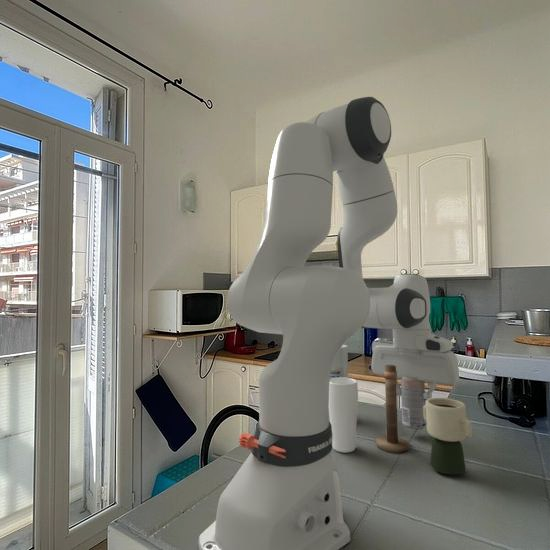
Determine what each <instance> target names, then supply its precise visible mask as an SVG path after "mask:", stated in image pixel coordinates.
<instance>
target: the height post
mask: <svg viewBox="0 0 550 550" xmlns="http://www.w3.org/2000/svg"><path fill="white" fill-rule="evenodd" d="M383 377H384V384H385V386H384V387H385V388H384V389H385V420H386V421H385V422H386V423H385V424H386V425H385V426H386V435H380V436H378V437H376V439H375V440H376V441H375V442H376V446H377V448H378V449H379V450H382V451H383V452H387V453H390V454H391V453H393V454H402V453H403V454H404V453H406V452H408V451H409V449H410V442H409V441H408V440H407V439H405V438H403V437H401V436H399V433H398V432H399V429H398V400H397V399H398V397H397V396H398V395H397V390H396V379H397V371H396V366H395V365H385V370H384V375H383Z"/></svg>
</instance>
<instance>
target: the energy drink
mask: <svg viewBox="0 0 550 550" xmlns="http://www.w3.org/2000/svg"><path fill="white" fill-rule="evenodd" d="M400 382H401V383H400V384H401V385H400V387H401V394H402V396H401V423H402V425H403V426H404V427H405V428H408V429H411V430H416V431H417V430H423V429H425V428H427V421H426V420H425V419H424V415H423V407H424V405H426V400H423V397H424V396H423V393H424V392H425V391H426V387H425V385H426V383H425V382H426V381H419V380H418V379H417V378H412V377H406V376H403V378H400Z"/></svg>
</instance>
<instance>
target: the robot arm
mask: <svg viewBox="0 0 550 550" xmlns="http://www.w3.org/2000/svg"><path fill="white" fill-rule="evenodd" d="M391 138H392V125H391V118H390V115H389V113H388V110H387V109H386V107H385V106H384V104H383V103H382V102H381V101H380V100H378V99H377V98H375V97H373V96H364V97H363V96H362V97H358V98H355V99H354V98H353V99H352V100H350V102H348V103H346V104H342V105H339V106H337V107H333V108H331V109H329V110H326V111H322V112H320V113H318V114H317V115H314V116H313V117H311V118H309V119H308V120H307V121H301V122H300V121H298V122H295V123H291V124H289V125H287V126H286V127H285V128H284V129H282V130H281V132H280V133H279V135H278V137H277V139H276V142H275V146H274V150H273V153H272V157H271V162H270V167H269V174H268V180H267V181H268V183H267V193H266V202H265V203H266V204H265V211H264V220H263V226H262V231H261V234H260V237H259V240H258V243H257V245H256V248H255V251H254V252H253V255H252V257H251V259H250V261H249V262H248V264H247V265H246V268H245V269H244V271H243V272H242V273H241V274H240V275H239V276H238V277H237V278H236V279H235V280H234V281H233V282H232V283H231V285H230V287H229V289H228V292H227V299H226V301H227V302H226V303H227V309H228V313H229V315H230V317H231V318H232V320H233V321H234V322H235V323H236V324H237V325H239V326H241V327H243V328H246V329H248V330H252V331H253V332H257V333H260V334H261V333H263V334H272V335H282V344H281V348H280V353H279V355H278V357H277V359H274V360H273V361H272V362H270V363H268V364H267V365H266V366H265V367H264V368H263V369H262V370H261V373H260V374H259V378H258V405H259V407H258V410H259V411H258V412H259V413H258V414H259V415H258V417H259V419H258V422H257V424H256V427H255V430H254V435H253V434H252V435H251V434H250V433H248V432H243V433H241V434H240V437H239V438H238V445H239V446H240V447H241V448H245V449H247V450H249V451H250V454H249V455H248V457H247V458H246V459H245V460H244V462H243V464H242V465H241V466H240V468H239V469H238V471H237V472H236V474H235V475H234V476H233V477H232V479H231V481H230V482H229V483H228V485H227V486H226V488H225V489H224V490H223V492H222V493H221V494H220V497H219V500H218V503H217V508H216V517H215V520H214V521H213V522H212V523H211V524H210V525H209V526H208V527H206V529H205V530H204V531H202V532H201V534H200V535H199V537H198V550H340V549H341V548H342V547H344V546H346V545H347V544H348V543H350V541H351V531H350V529H349V526H348V525H347V524H346V522H345V521H344V514H343V505H342V495H341V487H340V484H341V483H340V477H339V474H338V471H337V469H336V466H335V464H334V461H333V458H332V454H331V451H332V450H333V447H332V439H333V432H332V426H331V423H330V420H329V382H330V374H331V369H332V366H333V363H334V360H335V358H336V356H337V354H338V352H339V350H340V349H341V347H342V346H343V345H345V344H346V342H347V341H348V340H349V339H350V338H351V337H353V336H355V334H356V333H358V332H359V331H360V330H361V329H370V328H371V329H383V330H384V329H385V330H387V329H389V330H391V329H392V338H383V337H377V338H376V339H374V340H373V341H372V344H371V351H372V355H371V356H372V357H371V368H370V369H371V371H372V373H373V374H374V375H379V376H384V370H385V365H395V366H396V371H397V379H396V390H397V396H399V397H402V394H401V385H400V384H399V382H398V381H399V380H400V379H401V378H403V376H406V377H412V378H417V379H418V380H419V381H425V382H427V387H429V389H428V391H426V390H425V392H424V393H423V396H424V397H423V400H425V402H426V401H427V399H430V398H433V393H434V390H435V389H436V387H437V384H441V385H447V386H455V385H456V384H457V383H458V382H459V381H460V371H459V363H458V358H457V356H456V354H455V353H454V352H453V351H452V349H453V347H454V343H453V341H452V340H450V339H448V338H445V337H442V336H438V335H436V334H434V333H432V327H431V324H430V314H431V299H430V298H431V297H430V289H429V285H428V281H427V279H426V278H425V277H424V276H422V275H421V274H414V273H401V274H397V275H396V276H395V277H394V279H393V284H392V285H389V287H387V286H386V287H367V286H368V285H366V282H365V280H364V278H363V276H364V275H363V266H362V254H363V250H364V248H365V247H366V246H367V245H368V244H369V243H371V242H372V241H373V242H374V240H376V239H378V238H380V237H381V236H383V235H384V234H385V233H386V232H388V231H389V230H390V229H391V227H392V226H393V225H394V223H395V222H396V218H397V216H398V201H397V196H396V192H395V191H396V190H395V188H394V183H393V179H392V177H391V173H390V170H389V167H388V165H387V162H386V160H385V157H384V155H385V153H386V152H387V150H388V147H389V146H390V143H391V140H392V139H391ZM334 172H336V174H337V180H338V188H339V193H340V194H339V195H340V198H341V203H342V208H343V223H342V226H341V227H340V228H339V230H338V233H337V236H336V237H337V242H336V243H337V256H338V257H337V258H338V266H333V265H328V264H323V265H322V264H321V265H309V266H306V263H307V260H308V259H309V257H310V255H311V254H312V253H313V251H314V250H315V249H316V248H317V247H318V246H320V245H321V244H322V243H323V242H324V241H326V239H327V238H328V236H329V234H330V231H331V228H332V208H333V192H334V188H333V187H334Z"/></svg>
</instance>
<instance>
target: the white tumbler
mask: <svg viewBox="0 0 550 550" xmlns="http://www.w3.org/2000/svg"><path fill="white" fill-rule="evenodd" d="M358 405H359V387H358V380H357V379H355V378H352V377H348V378H345V377H336V378H331V379H330V382H329V417H330V420H329V422H330V423H331V426H332V432H333V439H332V450H334V451H336V452H339V453H345V454H346V453H347V454H348V453H351V452H354V451H355V450H356V448H357V441H356V439H357V421H358V408H359V407H358Z"/></svg>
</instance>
